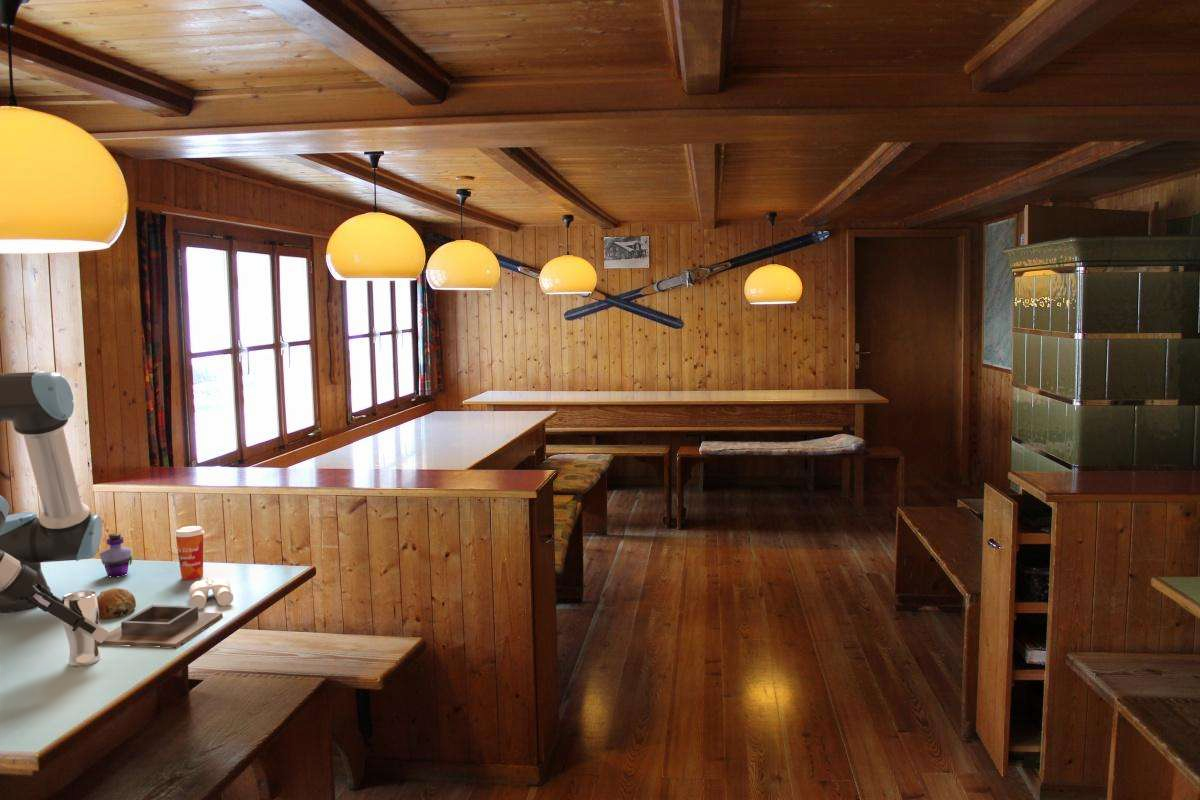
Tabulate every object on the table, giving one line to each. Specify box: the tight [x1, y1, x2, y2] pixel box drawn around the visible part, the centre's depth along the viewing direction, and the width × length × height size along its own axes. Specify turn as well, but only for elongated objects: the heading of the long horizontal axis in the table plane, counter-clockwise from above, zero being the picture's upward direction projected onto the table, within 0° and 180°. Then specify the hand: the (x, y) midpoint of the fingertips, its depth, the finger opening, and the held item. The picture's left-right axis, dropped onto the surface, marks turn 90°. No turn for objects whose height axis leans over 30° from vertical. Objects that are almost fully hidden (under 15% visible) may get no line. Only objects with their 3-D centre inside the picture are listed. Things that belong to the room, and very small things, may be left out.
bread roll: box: [96, 587, 137, 620], centre depth 234 cm, size 10×10×8 cm
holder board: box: [97, 604, 224, 648], centre depth 221 cm, size 20×20×4 cm
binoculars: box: [188, 576, 234, 611], centre depth 244 cm, size 10×16×5 cm, turn 25°
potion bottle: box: [99, 532, 133, 578], centre depth 265 cm, size 9×9×12 cm
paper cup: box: [174, 525, 205, 581], centre depth 262 cm, size 8×8×14 cm
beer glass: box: [61, 589, 101, 667], centre depth 202 cm, size 7×7×15 cm
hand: (100, 632), depth 205 cm, fingers closed on beer glass, 7 cm apart
